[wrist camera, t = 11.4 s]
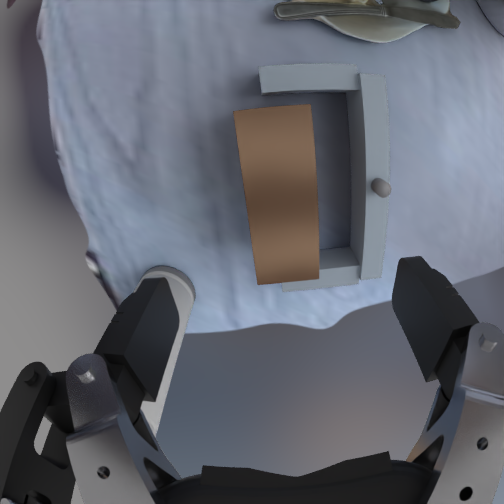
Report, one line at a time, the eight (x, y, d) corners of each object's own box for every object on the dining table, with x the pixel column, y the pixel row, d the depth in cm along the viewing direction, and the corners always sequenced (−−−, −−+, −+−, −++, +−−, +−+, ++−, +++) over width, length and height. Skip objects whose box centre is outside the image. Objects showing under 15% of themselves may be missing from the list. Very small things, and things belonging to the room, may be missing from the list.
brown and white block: (240, 111, 21) (232, 111, 15) (296, 106, 20) (310, 104, 14) (258, 241, 26) (256, 284, 20) (306, 237, 26) (319, 279, 20)
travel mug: (201, 313, 31) (160, 487, 13) (147, 308, 31) (83, 462, 13) (197, 266, 28) (133, 463, 10) (137, 262, 28) (42, 428, 10)
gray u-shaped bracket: (258, 73, 19) (258, 62, 14) (365, 71, 18) (390, 64, 14) (280, 271, 28) (283, 304, 23) (367, 262, 27) (384, 292, 22)
